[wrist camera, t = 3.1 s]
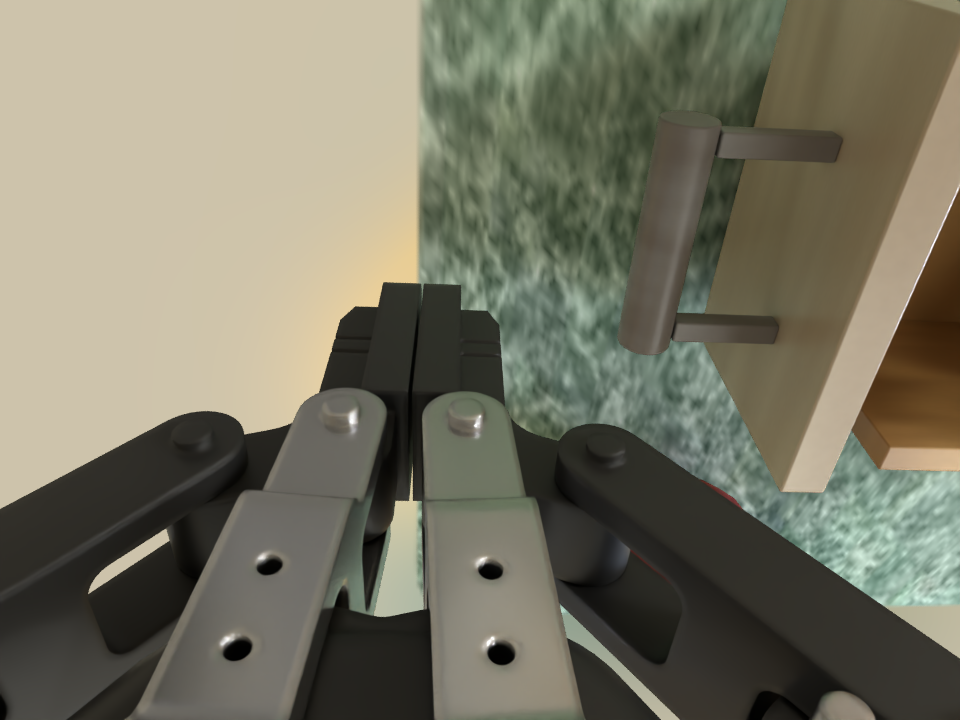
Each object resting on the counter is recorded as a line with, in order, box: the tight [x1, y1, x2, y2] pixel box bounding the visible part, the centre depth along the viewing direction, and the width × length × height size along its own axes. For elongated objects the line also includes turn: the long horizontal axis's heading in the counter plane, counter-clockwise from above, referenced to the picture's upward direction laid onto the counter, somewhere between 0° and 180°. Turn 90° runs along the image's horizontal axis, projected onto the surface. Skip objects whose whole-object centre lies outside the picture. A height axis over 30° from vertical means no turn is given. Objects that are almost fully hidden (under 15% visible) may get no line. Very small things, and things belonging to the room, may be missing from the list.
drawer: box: [617, 0, 960, 493], centre depth 19 cm, size 18×11×8 cm, turn 87°
